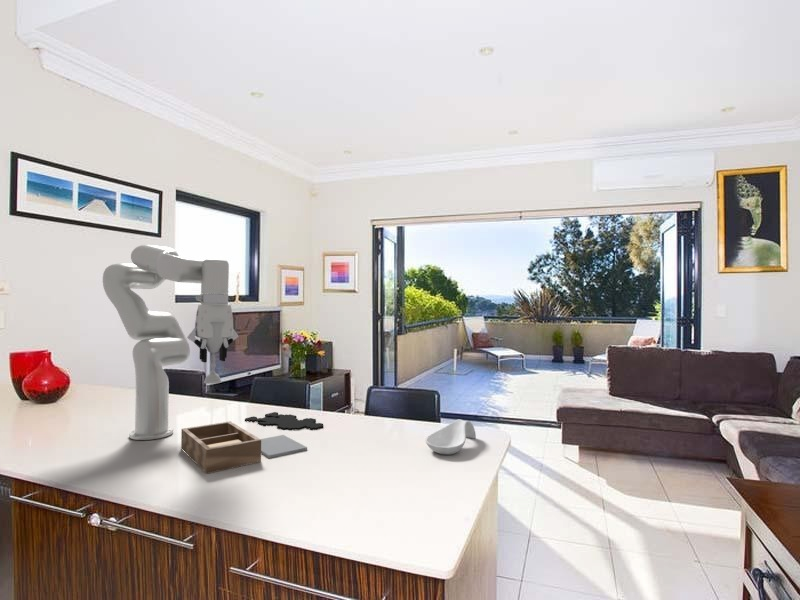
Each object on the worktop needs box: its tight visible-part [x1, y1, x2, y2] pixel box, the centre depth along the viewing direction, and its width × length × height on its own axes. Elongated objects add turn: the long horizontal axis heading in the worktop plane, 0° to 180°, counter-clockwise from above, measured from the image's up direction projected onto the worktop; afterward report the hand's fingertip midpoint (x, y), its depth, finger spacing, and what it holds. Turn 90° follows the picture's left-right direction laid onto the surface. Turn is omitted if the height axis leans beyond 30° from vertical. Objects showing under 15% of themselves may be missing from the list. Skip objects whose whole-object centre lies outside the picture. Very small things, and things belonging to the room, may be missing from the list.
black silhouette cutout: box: [244, 411, 324, 431], centre depth 167 cm, size 16×1×30 cm
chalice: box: [203, 322, 225, 385], centre depth 136 cm, size 7×7×18 cm
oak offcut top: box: [207, 440, 241, 448], centre depth 127 cm, size 8×9×2 cm
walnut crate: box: [180, 420, 262, 474], centre depth 131 cm, size 24×14×6 cm, turn 40°
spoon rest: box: [425, 418, 477, 456], centre depth 142 cm, size 24×12×7 cm, turn 148°
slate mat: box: [260, 434, 308, 459], centre depth 139 cm, size 16×12×1 cm
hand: (213, 360), depth 136 cm, fingers closed on chalice, 4 cm apart
